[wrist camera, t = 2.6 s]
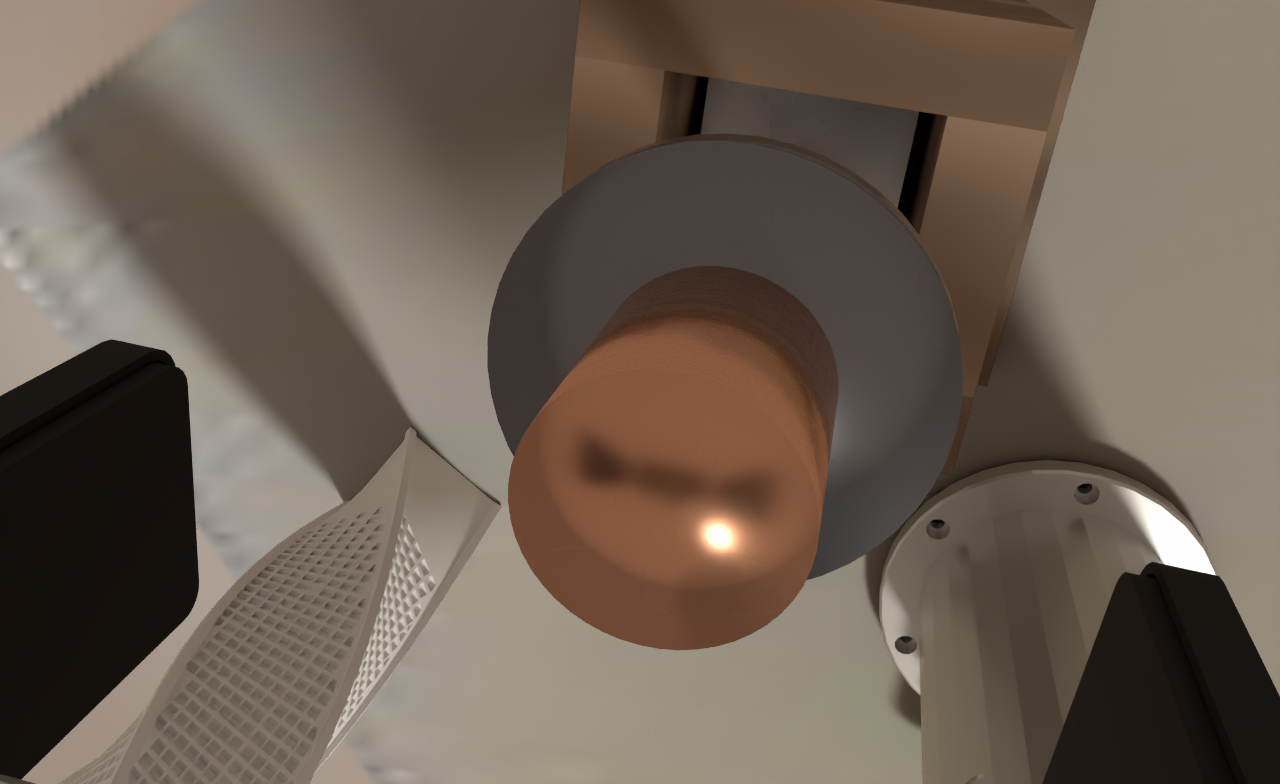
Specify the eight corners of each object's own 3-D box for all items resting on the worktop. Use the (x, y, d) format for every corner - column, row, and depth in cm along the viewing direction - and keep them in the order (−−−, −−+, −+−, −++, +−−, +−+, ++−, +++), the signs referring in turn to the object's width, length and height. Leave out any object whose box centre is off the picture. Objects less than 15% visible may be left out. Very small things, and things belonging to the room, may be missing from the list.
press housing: (984, 371, 40) (1026, 604, 26) (593, 295, 42) (442, 473, 29) (1115, -101, 34) (1265, -123, 20) (644, -162, 36) (480, -219, 22)
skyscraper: (408, 387, 46) (-192, 942, 21) (542, 501, 47) (119, 1171, 22) (314, 501, 49) (-299, 1097, 24) (440, 606, 50) (-27, 1291, 25)
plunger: (902, 331, 30) (899, 824, 13) (652, 283, 31) (365, 686, 14) (965, 67, 27) (1063, 284, 10) (686, 24, 28) (379, 159, 11)
